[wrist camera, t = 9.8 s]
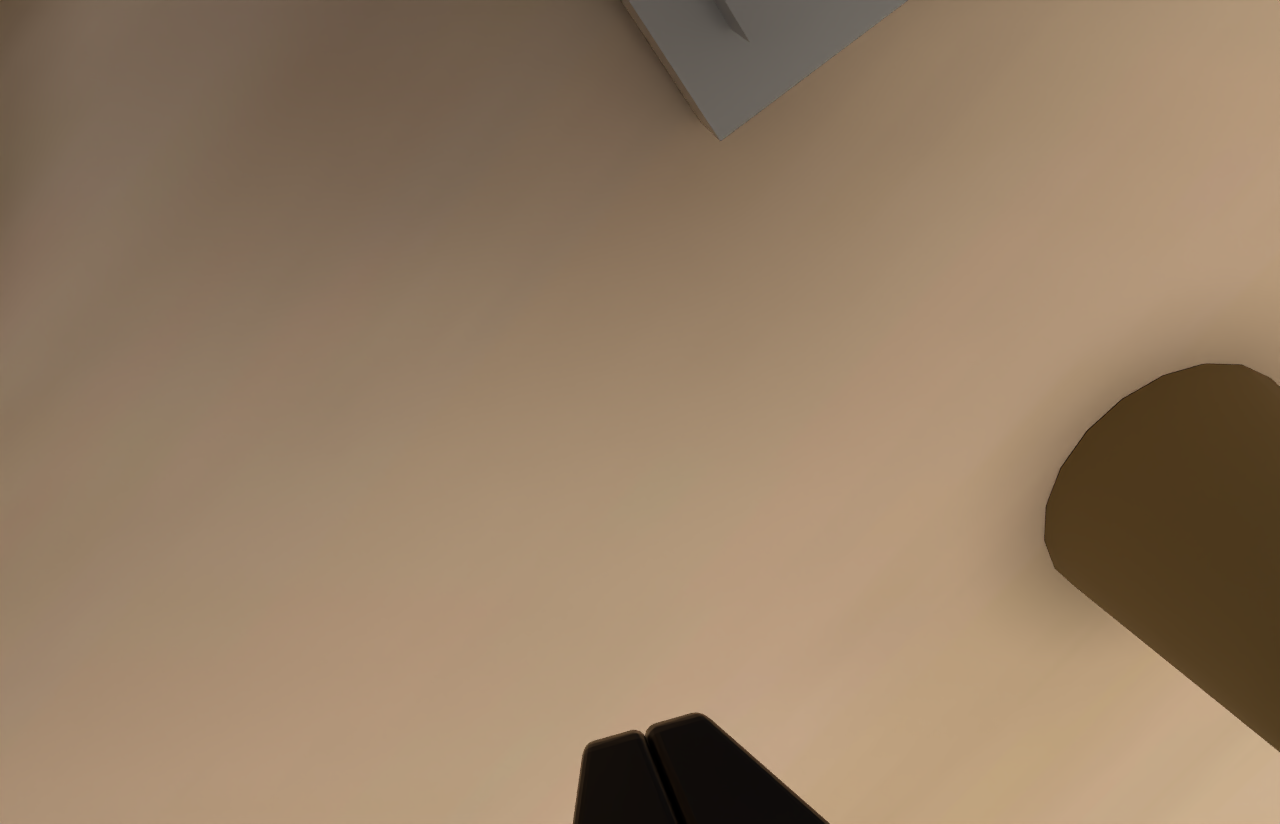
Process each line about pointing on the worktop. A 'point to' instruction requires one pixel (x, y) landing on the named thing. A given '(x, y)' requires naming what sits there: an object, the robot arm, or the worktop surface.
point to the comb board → (748, 47)
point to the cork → (1185, 530)
